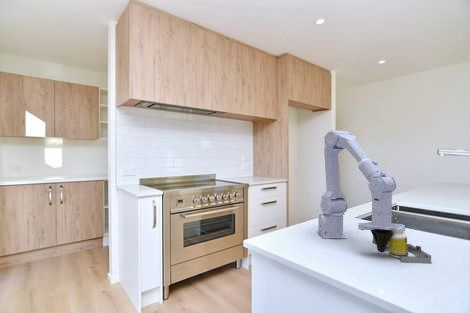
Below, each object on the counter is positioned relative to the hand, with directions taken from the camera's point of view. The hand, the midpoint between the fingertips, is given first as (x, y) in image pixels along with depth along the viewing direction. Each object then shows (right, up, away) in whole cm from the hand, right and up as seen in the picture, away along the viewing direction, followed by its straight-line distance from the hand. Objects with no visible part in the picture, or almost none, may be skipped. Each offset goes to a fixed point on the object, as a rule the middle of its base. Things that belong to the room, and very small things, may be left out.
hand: (380, 251), depth 82 cm
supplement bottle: (+6, -1, -1) cm, 6 cm away
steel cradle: (+8, -2, 0) cm, 8 cm away
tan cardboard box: (+7, -1, +11) cm, 13 cm away
